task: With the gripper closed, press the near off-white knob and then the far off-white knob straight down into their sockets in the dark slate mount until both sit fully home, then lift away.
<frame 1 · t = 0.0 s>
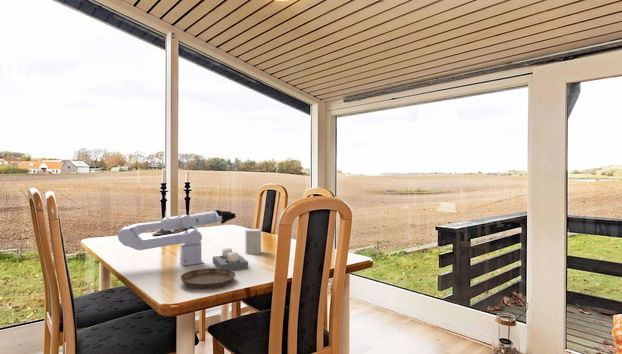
hand: (233, 214, 184), 22 cm above the table, tool horizontal, fingers open, 7 cm apart
far knob: (227, 253, 174), point 5 cm above the table, slide at 0.0 cm
near knob: (232, 258, 166), point 5 cm above the table, slide at 0.0 cm
plant saucer: (208, 283, 145), on the table
slate mount: (230, 265, 170), on the table
cup: (253, 252, 197), on the table
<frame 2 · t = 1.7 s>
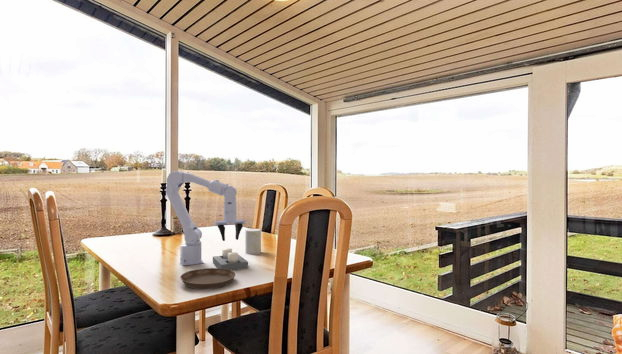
hand: (230, 240, 177), 10 cm above the table, tool pointing down, fingers open, 6 cm apart
nothing on the table moved.
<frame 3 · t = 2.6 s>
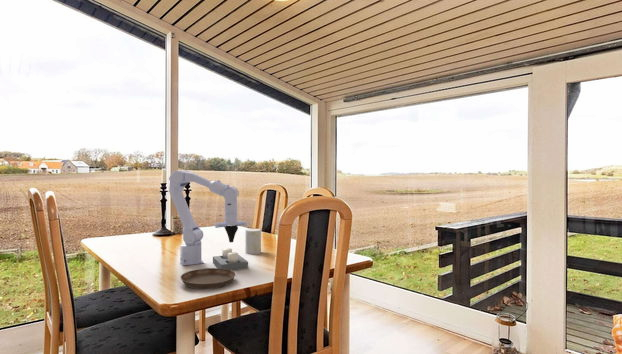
hand: (231, 242, 174), 10 cm above the table, tool pointing down, fingers closed
nothing on the table moved.
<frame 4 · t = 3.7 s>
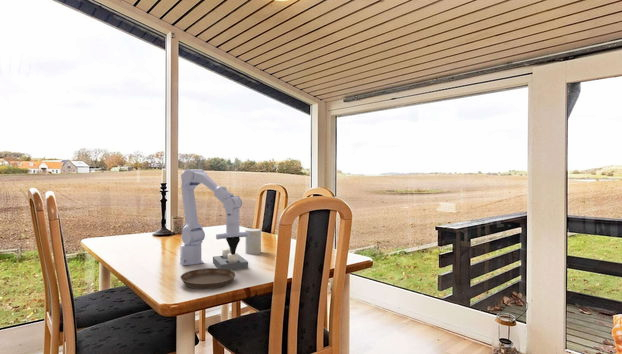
hand: (232, 254, 166), 6 cm above the table, tool pointing down, fingers closed, pressing on near knob
near knob: (232, 258, 166), point 4 cm above the table, slide at 0.2 cm, touching gripper
everything else where it was.
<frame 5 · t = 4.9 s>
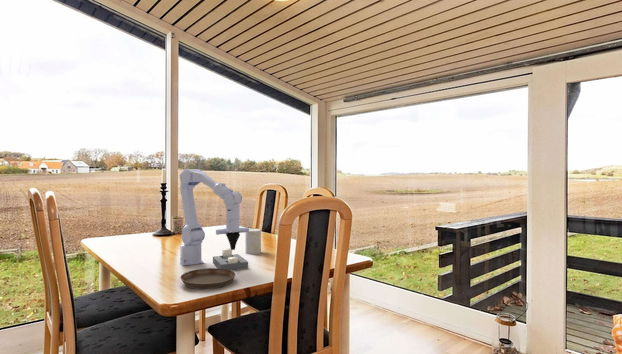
hand: (232, 249, 166), 8 cm above the table, tool pointing down, fingers closed
near knob: (232, 262, 166), point 3 cm above the table, slide at 2.0 cm
everything else where it was.
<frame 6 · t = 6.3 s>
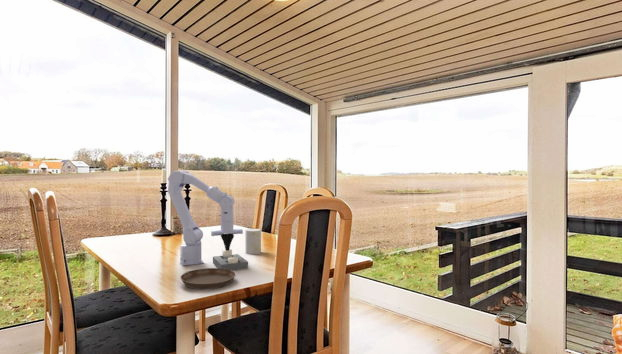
hand: (227, 250, 174), 6 cm above the table, tool pointing down, fingers closed, pressing on far knob
far knob: (227, 254, 174), point 4 cm above the table, slide at 0.4 cm, touching gripper
everything else where it was.
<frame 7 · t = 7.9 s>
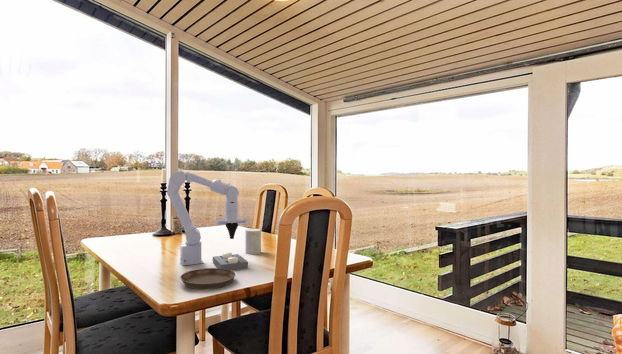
hand: (231, 238, 181), 10 cm above the table, tool pointing down, fingers closed
far knob: (227, 257, 175), point 3 cm above the table, slide at 2.0 cm
everything else where it was.
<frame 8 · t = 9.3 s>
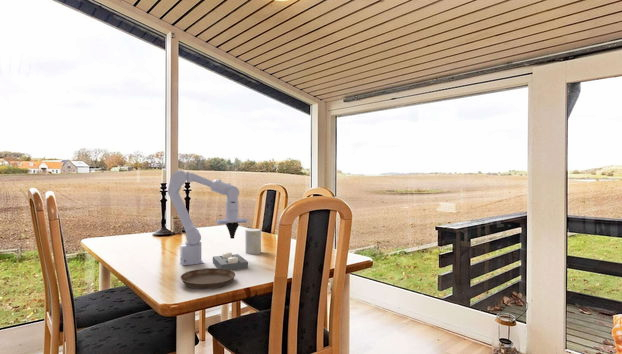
hand: (232, 238, 182), 10 cm above the table, tool pointing down, fingers closed
nothing on the table moved.
at the end: near knob slide at 2.0 cm; far knob slide at 2.0 cm; cup moved 0.2 cm from its start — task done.
